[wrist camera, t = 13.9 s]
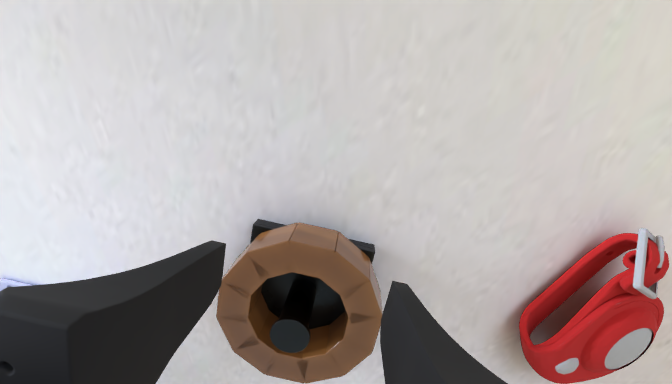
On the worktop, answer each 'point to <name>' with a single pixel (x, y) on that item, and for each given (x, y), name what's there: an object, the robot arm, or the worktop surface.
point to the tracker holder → (600, 312)
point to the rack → (300, 300)
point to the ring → (325, 342)
